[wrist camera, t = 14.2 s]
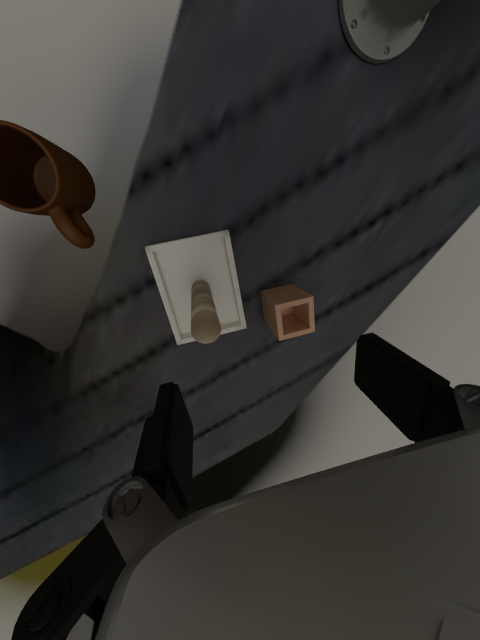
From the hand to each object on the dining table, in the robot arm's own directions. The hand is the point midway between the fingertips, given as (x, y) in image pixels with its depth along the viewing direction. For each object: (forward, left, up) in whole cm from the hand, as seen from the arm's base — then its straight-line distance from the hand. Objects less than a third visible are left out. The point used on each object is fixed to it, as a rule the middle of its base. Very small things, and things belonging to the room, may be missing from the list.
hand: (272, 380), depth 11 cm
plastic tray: (+2, -3, -29) cm, 29 cm away
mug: (-13, -16, -29) cm, 36 cm away
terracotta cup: (+8, +10, -29) cm, 31 cm away
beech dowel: (+2, -3, -28) cm, 28 cm away
